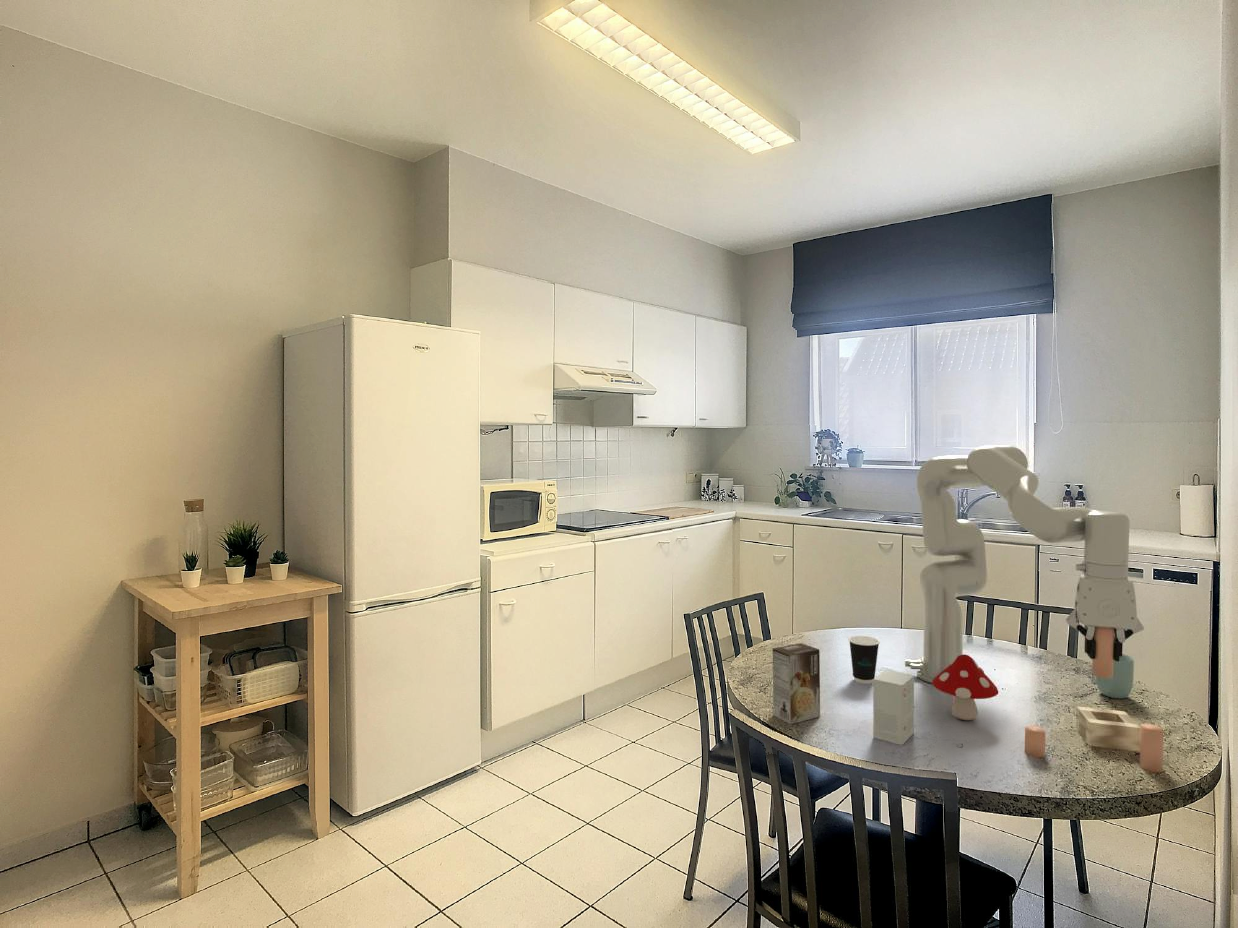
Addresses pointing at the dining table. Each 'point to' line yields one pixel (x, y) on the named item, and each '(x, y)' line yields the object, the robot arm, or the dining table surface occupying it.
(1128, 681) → the cup
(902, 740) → the small box
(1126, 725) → the bore block
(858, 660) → the dixie cup
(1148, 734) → the medium pin
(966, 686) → the decorative mushroom
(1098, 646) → the long pin
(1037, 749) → the short pin
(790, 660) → the coffee box
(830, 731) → the dining table surface
